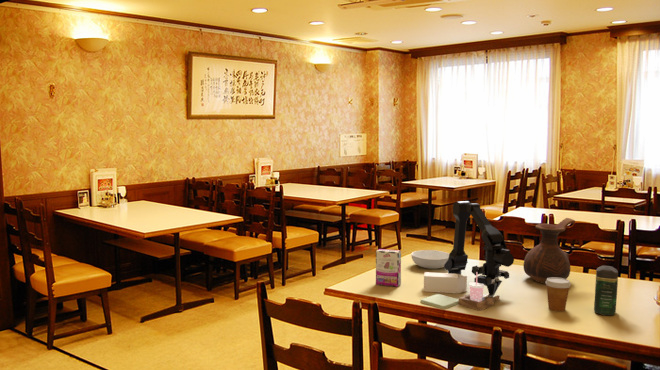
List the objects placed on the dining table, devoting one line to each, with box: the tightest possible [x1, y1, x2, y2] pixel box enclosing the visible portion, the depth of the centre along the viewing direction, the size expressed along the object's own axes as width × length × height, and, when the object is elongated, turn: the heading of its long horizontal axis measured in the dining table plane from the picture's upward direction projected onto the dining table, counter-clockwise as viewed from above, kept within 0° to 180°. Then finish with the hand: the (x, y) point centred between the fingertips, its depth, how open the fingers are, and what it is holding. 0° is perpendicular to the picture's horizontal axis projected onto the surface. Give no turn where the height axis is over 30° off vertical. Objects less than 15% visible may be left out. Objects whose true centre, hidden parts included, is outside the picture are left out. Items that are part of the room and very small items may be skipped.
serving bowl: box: [410, 249, 450, 270], centre depth 294 cm, size 21×21×7 cm
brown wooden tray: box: [458, 293, 500, 311], centre depth 234 cm, size 19×10×3 cm, turn 132°
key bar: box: [482, 293, 494, 301], centre depth 236 cm, size 6×3×2 cm, turn 133°
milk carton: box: [423, 271, 468, 294], centre depth 251 cm, size 7×7×19 cm
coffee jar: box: [593, 264, 619, 316], centre depth 221 cm, size 10×8×19 cm
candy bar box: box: [375, 248, 402, 288], centre depth 260 cm, size 11×5×16 cm, turn 68°
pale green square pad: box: [420, 293, 459, 310], centre depth 234 cm, size 12×12×1 cm
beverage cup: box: [468, 272, 485, 302], centre depth 230 cm, size 6×6×14 cm
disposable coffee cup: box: [544, 277, 571, 312], centre depth 225 cm, size 10×10×12 cm
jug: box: [523, 217, 576, 284], centre depth 267 cm, size 22×22×30 cm
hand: (491, 296), depth 239 cm, fingers closed
